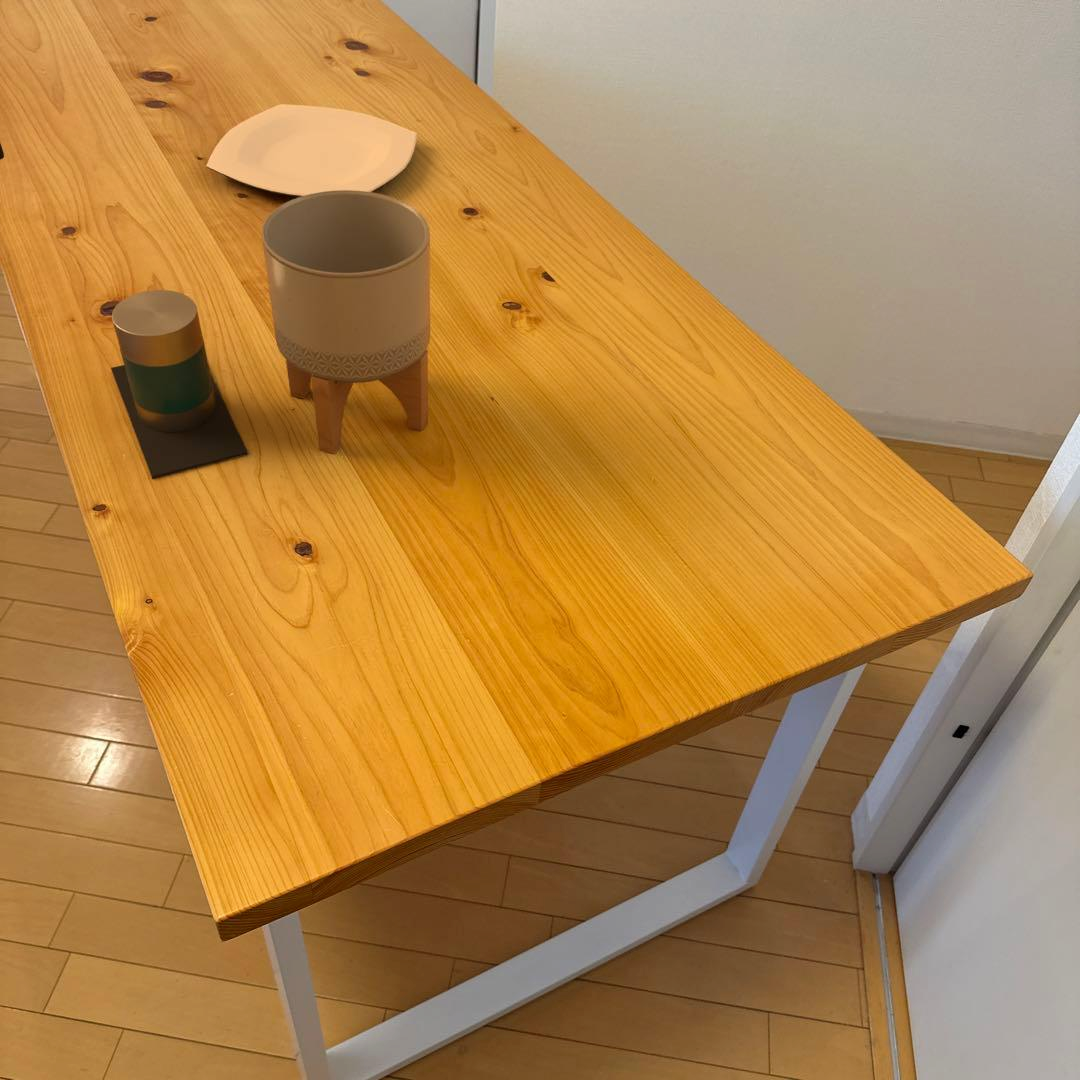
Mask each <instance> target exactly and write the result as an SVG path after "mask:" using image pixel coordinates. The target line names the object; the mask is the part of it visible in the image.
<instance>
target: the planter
mask: <svg viewBox="0 0 1080 1080" xmlns="http://www.w3.org/2000/svg"><path fill="white" fill-rule="evenodd" d="M261 240H262V247H263V256H264V263H265V270H266V271H265V272H266V276H267V277H266V278H267V285H268V292H269V300H270V307H271V314H272V322H273V330H274V336H275V343H276V347H277V348H278V351H279V353H280V354H281V355H282V356H283V358H284V359H285V364H286V370H287V371H286V373H287V379H288V386H289V394H290V396H291V397H295V398H298V399H304V398H305V397H306V396H307V394H308V393H309V392H310V391H311V389H312V397H313V406H314V416H315V417H314V418H315V426H316V434H317V435H316V436H317V444H318V450H320V451H324V452H327V453H330V454H333V455H334V454H336V452H337V451H338V450H339V448H340V447H341V446H342V439H341V437H342V426H343V425H342V424H343V418H344V412H345V408H346V405H347V401H348V399H349V395H350V392H351V389H352V388H353V385H354V384H361V383H369V382H376V381H378V382H380V383H381V384H382V385H384V386H385V387H386V388H387V389H388V390H389V391H391V393H392V394H393V395H394V396H395V397H396V398H397V400H398V401H399V403H400V404H401V406H402V408H403V410H404V413H405V415H406V418H407V422H408V428H409V429H412V430H415V431H419V432H423V431H424V429H425V427H426V426H427V424H428V423H429V355H428V354H429V351H428V350H427V349H428V347H429V345H430V341H431V231H430V226H429V223H428V222H427V219H426V218H425V216H424V215H423V214H422V213H421V212H420V211H418V210H417V209H416V208H415V207H413V206H412V205H410V204H409V203H407V202H405V201H403V200H400V199H398V198H395V197H393V196H390V195H385V194H382V193H377V192H365V191H354V190H336V191H325V192H319V193H313V194H309V195H305V196H301V197H296V198H293V199H291V200H289V201H286V202H285V203H283V204H281V205H279V206H278V207H276V208H275V209H274V210H273V211H271V212H270V213H269V214H268V216H267V217H266V218H265V220H264V222H263V224H262V227H261ZM311 387H312V388H311Z"/></svg>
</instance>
